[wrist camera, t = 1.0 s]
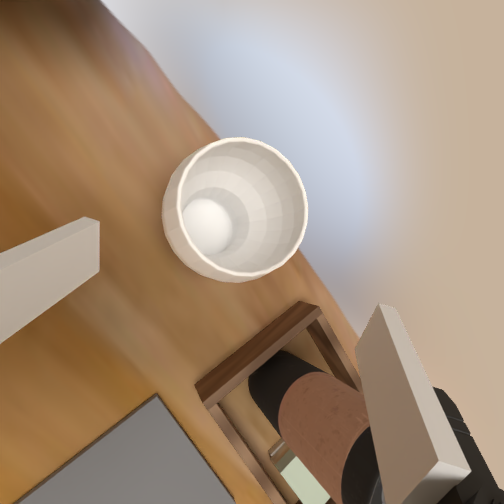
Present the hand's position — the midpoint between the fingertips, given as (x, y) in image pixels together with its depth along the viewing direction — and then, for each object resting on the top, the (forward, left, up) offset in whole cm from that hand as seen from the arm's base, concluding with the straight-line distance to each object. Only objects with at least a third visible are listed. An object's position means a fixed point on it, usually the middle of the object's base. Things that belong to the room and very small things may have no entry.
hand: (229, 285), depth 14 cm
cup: (-5, +3, -21) cm, 21 cm away
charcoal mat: (+24, -6, -20) cm, 32 cm away
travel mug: (+14, +11, -21) cm, 27 cm away
